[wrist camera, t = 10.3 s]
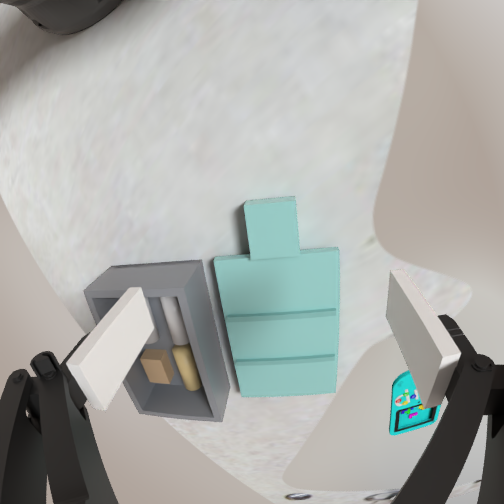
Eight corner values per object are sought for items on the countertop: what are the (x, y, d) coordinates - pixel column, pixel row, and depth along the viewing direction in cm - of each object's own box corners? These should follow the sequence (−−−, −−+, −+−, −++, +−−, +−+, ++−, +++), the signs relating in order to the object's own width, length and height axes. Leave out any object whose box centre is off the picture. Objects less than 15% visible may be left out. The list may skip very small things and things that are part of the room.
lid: (209, 203, 29) (202, 210, 26) (333, 192, 27) (337, 197, 25) (243, 386, 37) (241, 399, 35) (333, 381, 35) (335, 395, 33)
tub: (111, 266, 32) (83, 290, 26) (201, 259, 30) (184, 287, 25) (154, 382, 38) (139, 413, 33) (230, 386, 37) (222, 422, 31)
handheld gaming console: (451, 362, 32) (436, 423, 37) (448, 357, 33) (434, 419, 38) (394, 379, 33) (389, 437, 38) (392, 374, 34) (388, 433, 39)
